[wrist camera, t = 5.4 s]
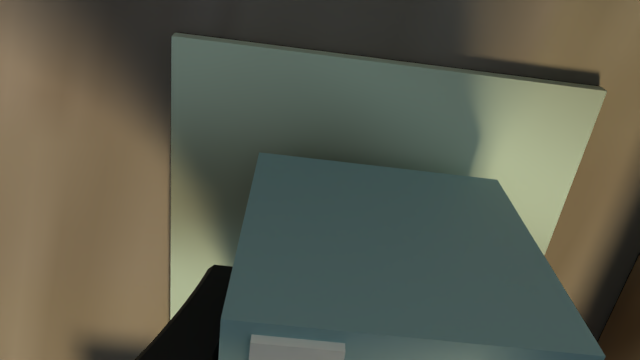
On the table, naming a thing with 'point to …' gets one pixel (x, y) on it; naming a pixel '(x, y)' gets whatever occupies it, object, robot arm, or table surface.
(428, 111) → the corner arena
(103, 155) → the table surface
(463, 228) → the cube
